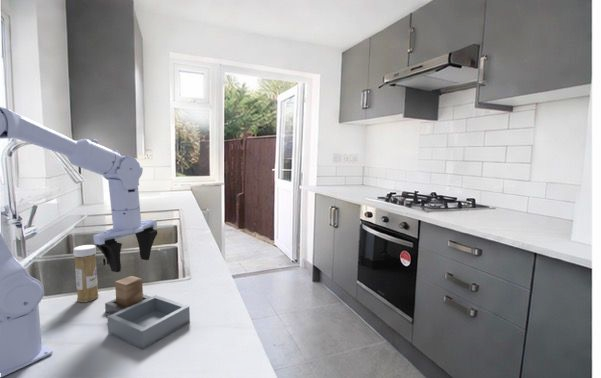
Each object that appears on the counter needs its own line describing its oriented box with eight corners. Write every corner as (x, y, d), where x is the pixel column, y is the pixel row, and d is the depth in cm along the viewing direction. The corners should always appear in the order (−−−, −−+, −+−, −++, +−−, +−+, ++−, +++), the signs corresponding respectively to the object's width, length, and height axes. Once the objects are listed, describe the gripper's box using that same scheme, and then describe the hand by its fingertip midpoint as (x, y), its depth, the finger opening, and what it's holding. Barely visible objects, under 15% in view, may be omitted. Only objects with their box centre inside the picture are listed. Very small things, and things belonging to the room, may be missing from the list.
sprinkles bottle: (98, 300, 76) (95, 247, 75) (76, 304, 74) (72, 250, 72) (98, 293, 80) (95, 243, 79) (77, 297, 77) (73, 245, 76)
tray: (143, 349, 57) (142, 331, 56) (108, 333, 62) (107, 316, 61) (189, 322, 66) (189, 306, 66) (156, 309, 71) (155, 295, 71)
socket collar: (124, 319, 67) (124, 310, 67) (105, 311, 71) (105, 303, 70) (153, 305, 74) (153, 297, 73) (134, 298, 77) (134, 291, 77)
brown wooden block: (127, 314, 69) (125, 284, 69) (116, 310, 71) (115, 281, 71) (143, 307, 73) (142, 278, 72) (132, 303, 75) (131, 275, 74)
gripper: (106, 216, 62) (113, 280, 64) (164, 203, 75) (168, 256, 77) (84, 214, 64) (91, 275, 66) (143, 202, 78) (148, 253, 80)
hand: (131, 265), depth 72 cm, fingers open, 7 cm apart
